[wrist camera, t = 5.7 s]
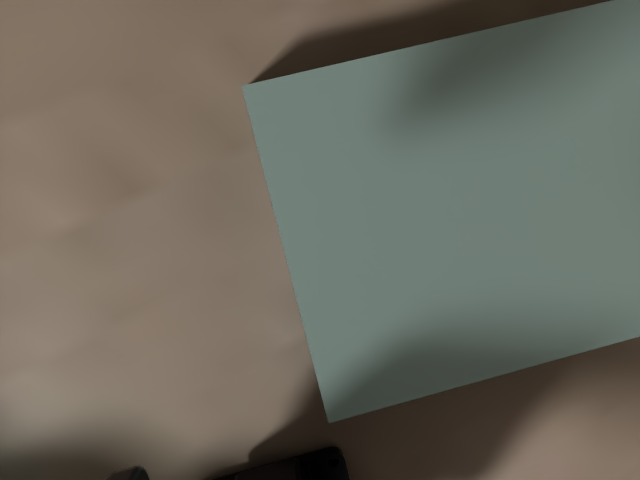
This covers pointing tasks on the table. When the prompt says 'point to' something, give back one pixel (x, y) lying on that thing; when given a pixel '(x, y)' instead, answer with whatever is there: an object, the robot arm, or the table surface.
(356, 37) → the table surface
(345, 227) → the deck
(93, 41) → the table surface
